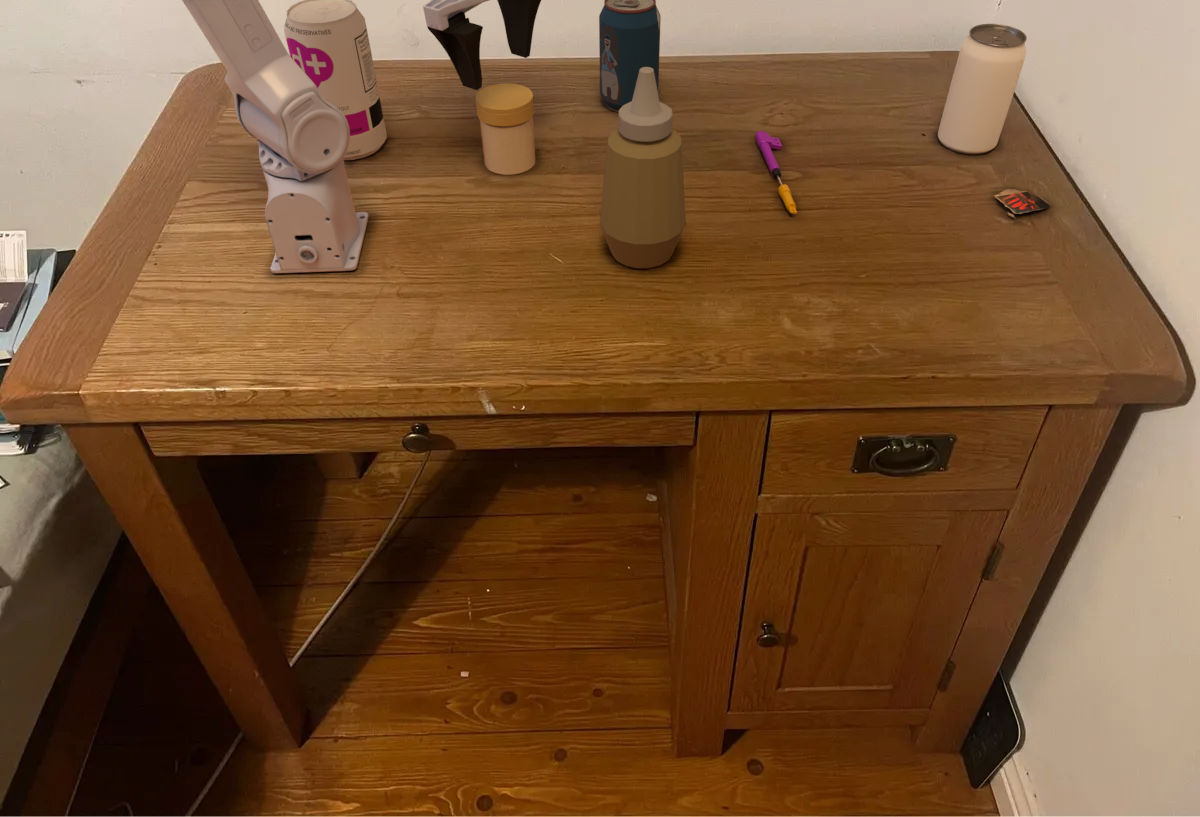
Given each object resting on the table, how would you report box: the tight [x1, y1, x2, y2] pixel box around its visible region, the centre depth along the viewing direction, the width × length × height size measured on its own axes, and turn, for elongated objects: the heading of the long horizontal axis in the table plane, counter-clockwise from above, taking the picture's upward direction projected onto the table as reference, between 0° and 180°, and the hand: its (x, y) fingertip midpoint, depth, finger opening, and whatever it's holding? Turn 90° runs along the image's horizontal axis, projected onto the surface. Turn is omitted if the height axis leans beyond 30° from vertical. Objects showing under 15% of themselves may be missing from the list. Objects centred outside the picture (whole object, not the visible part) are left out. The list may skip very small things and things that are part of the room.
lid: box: [475, 82, 535, 126], centre depth 95 cm, size 6×6×2 cm
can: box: [937, 23, 1028, 156], centre depth 98 cm, size 6×6×12 cm
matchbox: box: [993, 188, 1051, 218], centre depth 93 cm, size 5×5×1 cm
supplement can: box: [283, 0, 388, 161], centre depth 98 cm, size 8×8×15 cm
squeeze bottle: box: [599, 67, 687, 269], centre depth 81 cm, size 8×8×18 cm
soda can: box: [598, 0, 662, 114], centre depth 106 cm, size 7×7×12 cm
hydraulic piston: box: [754, 130, 798, 215], centre depth 97 cm, size 3×1×16 cm
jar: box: [479, 115, 537, 176], centre depth 98 cm, size 6×6×7 cm
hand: (496, 70), depth 94 cm, fingers open, 7 cm apart
